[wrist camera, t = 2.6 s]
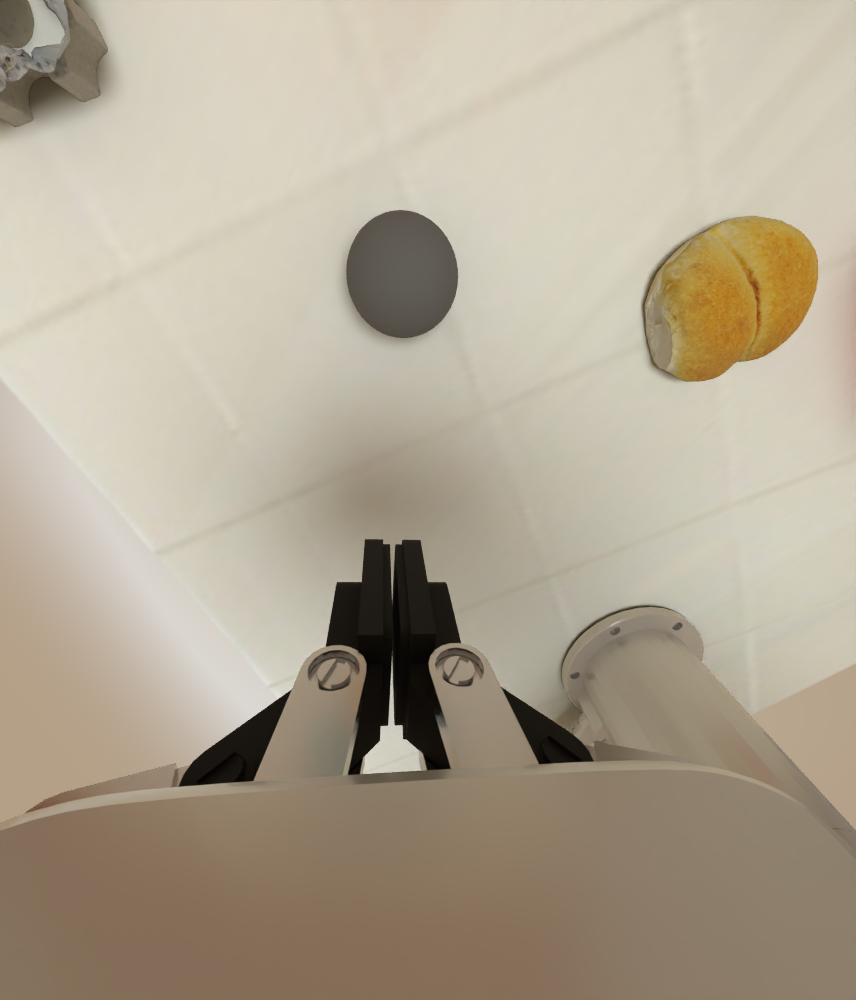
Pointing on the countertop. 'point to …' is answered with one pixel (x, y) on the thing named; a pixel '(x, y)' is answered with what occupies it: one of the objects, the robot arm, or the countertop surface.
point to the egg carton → (46, 56)
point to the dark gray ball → (402, 274)
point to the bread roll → (729, 296)
